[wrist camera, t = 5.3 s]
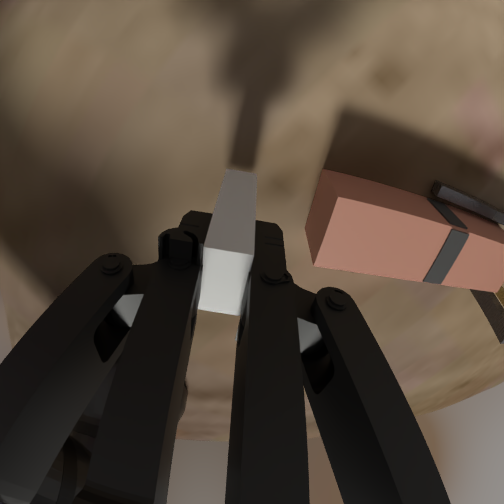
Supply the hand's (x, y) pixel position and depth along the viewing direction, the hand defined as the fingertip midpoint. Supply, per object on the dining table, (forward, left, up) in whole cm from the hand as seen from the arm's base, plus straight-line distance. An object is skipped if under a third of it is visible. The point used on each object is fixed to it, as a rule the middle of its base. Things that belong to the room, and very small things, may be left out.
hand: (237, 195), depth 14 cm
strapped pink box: (+12, 0, -2) cm, 13 cm away
